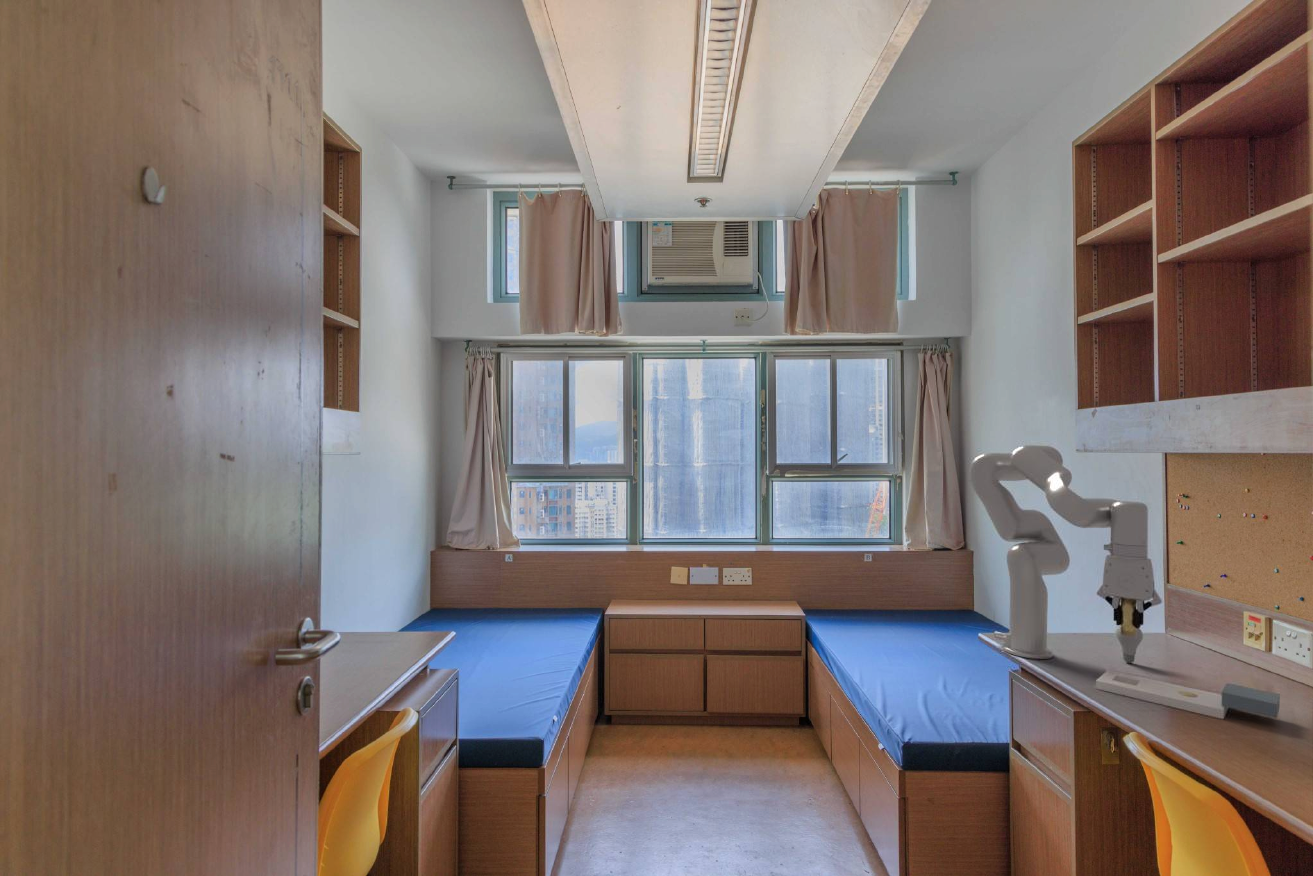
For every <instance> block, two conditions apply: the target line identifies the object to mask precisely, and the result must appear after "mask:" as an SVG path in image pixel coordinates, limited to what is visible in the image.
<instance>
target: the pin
mask: <svg viewBox="0 0 1313 876" xmlns="http://www.w3.org/2000/svg"><path fill="white" fill-rule="evenodd" d="M1120 606H1121V628H1120V633H1121V634H1123V635H1127V636H1136V628H1135V612H1136V609H1137V603H1136V600H1135V599H1128V598H1121V600H1120Z"/></svg>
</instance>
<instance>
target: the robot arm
mask: <svg viewBox="0 0 1313 876" xmlns="http://www.w3.org/2000/svg"><path fill="white" fill-rule="evenodd" d="M1063 463H1064V460H1063V457H1062V454H1061V452H1060V451H1059V450H1057V449H1056V448H1055V447H1053V446H1049V445H1031V444H1026V445H1021V446H1018V447H1017V448H1015V449H1014V450H1013V451H1012V452H1011V453H1007V452H1004V453H1002V452H998V453H997V452H989V453H988V452H987V453H983V454H980V455H978V456H976V457H975V458H974V459H973V460H972V462H971V464H970V467H969V473H968V474H969V480H970V484H971V487H972V488H973V490H974V492H975V494H976V495H977V497H978V498H979V500H980V501H981V503H982V505H983V507H984V508H985V510H986V513H987V515H988V516H989V517H988V518H990V520H991V522H992V524H993V526H994V528H995V530H996V532H997V534H998V536H999V537H1000V538H1001V539H1002V540H1004V541H1006V542H1013V543H1017V544H1014V545H1013V546H1011V547H1010V548H1009V549H1008V552H1007V555H1006V564H1007V569H1008V576H1009V631H1008V632H1006V633H1004V632H1000V631H994V634H993V637H994V639H995V640H997V641H1003V642H1004V643H1003V644H1002V650H1004V651H1005V652H1007V653H1008V654H1011V655H1014V656H1017V657H1021V658H1027V659H1037V660H1038V659H1039V660H1044V659H1045V660H1047V659H1048V660H1049V659H1050V658H1053V655H1054V652H1053V651H1052V650H1051V649H1050V648H1048V609H1049V608H1048V607H1049V606H1048V601H1049V600H1048V597H1049V595H1048V594H1049V593H1048V589H1047V586H1046V583H1045V581H1044V579H1043V578H1044V577H1043V576H1055V575H1060V574H1063V573H1065V572H1066V571H1067V569H1068V568H1069V567H1070V563H1071V562H1070V555H1069V552H1068V549H1067V547H1066V546H1065V544H1064V542H1063V540H1062V538H1061V537H1060V535H1059V533H1058V532H1057V530H1056V528H1055V526H1054V524H1053V523H1052V521H1051V520H1050V518H1049V517H1048V516H1047V515H1045V514H1044V513H1043V512H1042V511H1040V510H1036V509H1023V508H1021V507H1020V506H1019V505H1018V503H1017V501H1016V499H1015V497H1014V495H1013V494H1012V493H1011V492H1010V490H1009V489H1007V488H1006V487H1005V485H1003V484H1002V483H1001V482H1002V481H1003V482H1006V481H1007V482H1008V481H1009V482H1017V481H1018V482H1019V481H1027V480H1028V481H1030V482H1031V483H1032V484H1034V485H1035V486H1036V487H1037V488H1039V489H1040V490H1041V491H1042V492H1044V493H1045V498H1046V501H1047V503H1048V505H1049V506H1050V508H1051V509H1052V510H1053V511H1054V512H1055V513H1056V514H1057V515H1059V517H1061V518H1062V519H1064V520H1065V521H1067V522H1068V523H1069V524H1071V525H1072V526H1074V527H1075V526H1076V528H1077V527H1078V528H1081V529H1092V528H1099V529H1100V528H1101V529H1102V528H1103V529H1104V528H1105V529H1106V528H1107V529H1108V528H1110V542H1109V543H1108V544H1104V545H1103V550H1104V551H1108V552H1109V554H1107V555H1106V556H1105V560H1104V567H1103V574H1102V575H1103V576H1102V585H1101V586H1100V588H1099V589H1098V590H1097V591H1096V595H1097V596H1099V597H1100V598H1102V599H1103V600H1105V601H1106V602H1107V603H1108V604H1109V605H1110V606H1111V607H1112V608H1113V621H1114V622H1115V623H1116V624H1115V625H1116V626H1119V625H1121V598H1128V599H1135V600H1136V612H1135V628H1137V629H1141V626H1144V612H1145V611H1146V610H1148V609H1149V608H1151V607H1154V606H1157V605H1160V604H1162V603H1163V600H1162V598H1161V597H1160V595H1159V594H1158V592H1157V591H1156V589H1155V575H1154V568H1153V564H1152V559H1151V558H1149V555H1148V553H1149V552H1148V550H1149V549H1148V544H1149V543H1148V540H1149V538H1148V537H1149V536H1148V535H1149V534H1148V533H1149V531H1148V530H1149V528H1148V526H1149V524H1148V523H1149V520H1148V519H1149V511H1148V509H1149V508H1148V507H1147V504H1145V503H1143V502H1139V501H1127V500H1126V501H1125V500H1116V499H1112V498H1091V497H1090V498H1083V497H1082V496H1080V495H1078V494H1077V492H1074V491H1073V490H1072V489H1070V488H1069V486H1070V484H1071V483H1072V479H1073V476H1072V473H1071V471H1070V470H1069V469H1067V468H1066V467H1065V466H1064V464H1063ZM1000 481H1001V482H1000ZM1145 601H1147V602H1145Z"/></svg>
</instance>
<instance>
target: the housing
mask: <svg viewBox="0 0 1313 876" xmlns="http://www.w3.org/2000/svg"><path fill="white" fill-rule="evenodd" d="M1221 695H1222V706H1225V707H1229V708H1228V709H1234V710H1239V711H1243V712H1246V713H1251V714H1256V715H1261V716H1265V717H1269V718H1273V719H1277V718H1278V715H1279V711H1280V703H1281V702H1280V700H1281V699H1280V698H1281V697H1280V693H1276V692H1272V691H1268V690H1267V691H1266V690H1262V689H1258V688H1252V687H1247V686H1243V685H1238V684H1234V683H1229V682H1226V684H1225V685H1224V688H1223V689H1222V691H1221Z"/></svg>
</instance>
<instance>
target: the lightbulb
mask: <svg viewBox="0 0 1313 876" xmlns="http://www.w3.org/2000/svg"><path fill="white" fill-rule="evenodd" d="M1120 628H1121V625H1117V628H1116V630H1115V635H1116V638H1117V640H1118V642H1119V644H1120V646H1121V653H1122V660H1123V661H1124V662H1125V663H1126V664H1132V663H1134V662H1135V658H1136V657H1135V655H1137V649H1138V647H1139V645H1140V644H1141V643H1142V641H1143V638H1144V635H1143V632H1142V630H1141V628H1139V629H1137V628H1136V636H1127V635H1123V634H1121V633H1120Z"/></svg>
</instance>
